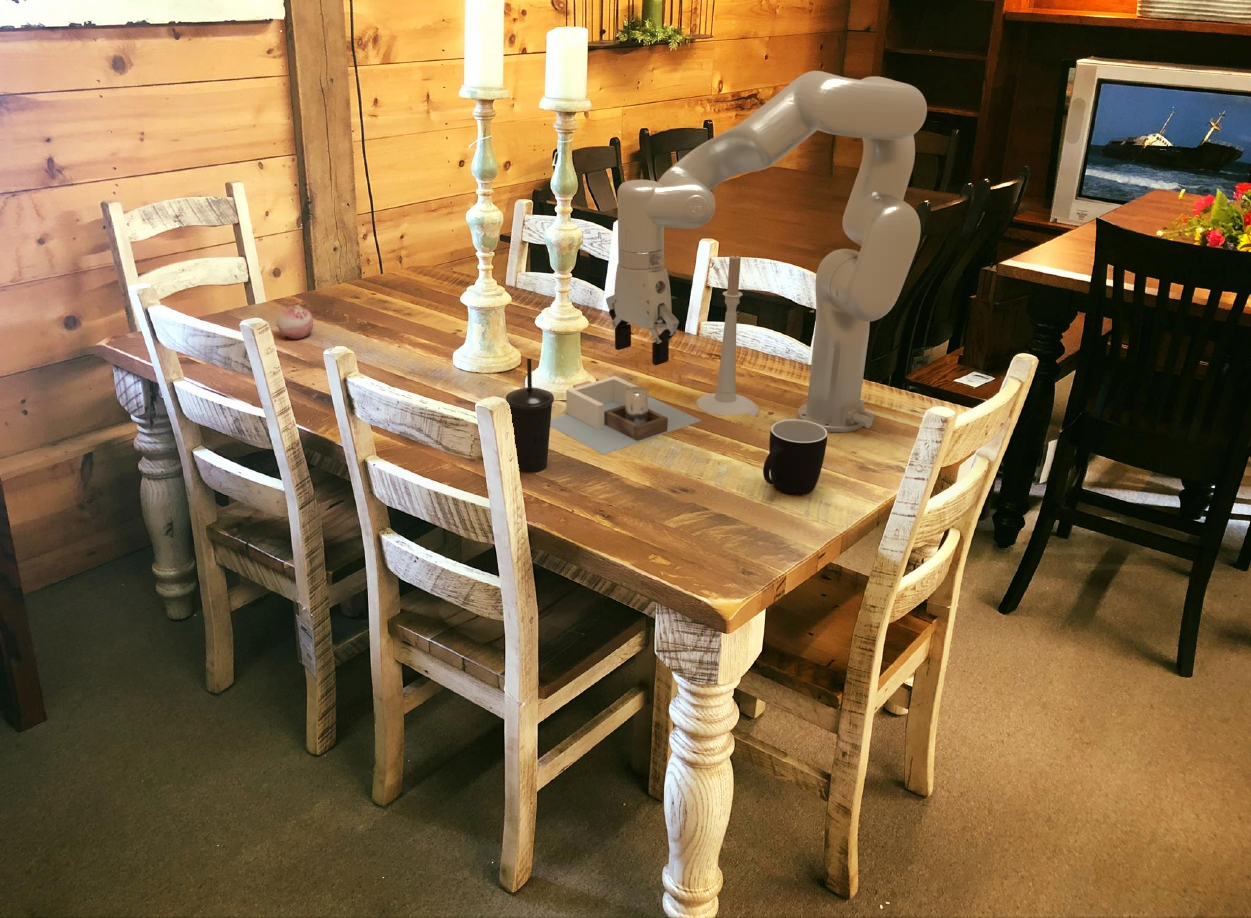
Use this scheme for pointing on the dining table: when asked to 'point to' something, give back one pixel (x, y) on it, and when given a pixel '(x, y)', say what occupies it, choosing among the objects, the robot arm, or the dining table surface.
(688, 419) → the board
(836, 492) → the dining table surface
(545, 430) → the drinking cup
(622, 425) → the socket
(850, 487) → the dining table surface
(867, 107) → the robot arm
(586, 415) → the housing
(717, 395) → the candlestick
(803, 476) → the mug
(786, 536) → the dining table surface
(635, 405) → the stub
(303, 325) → the apple
